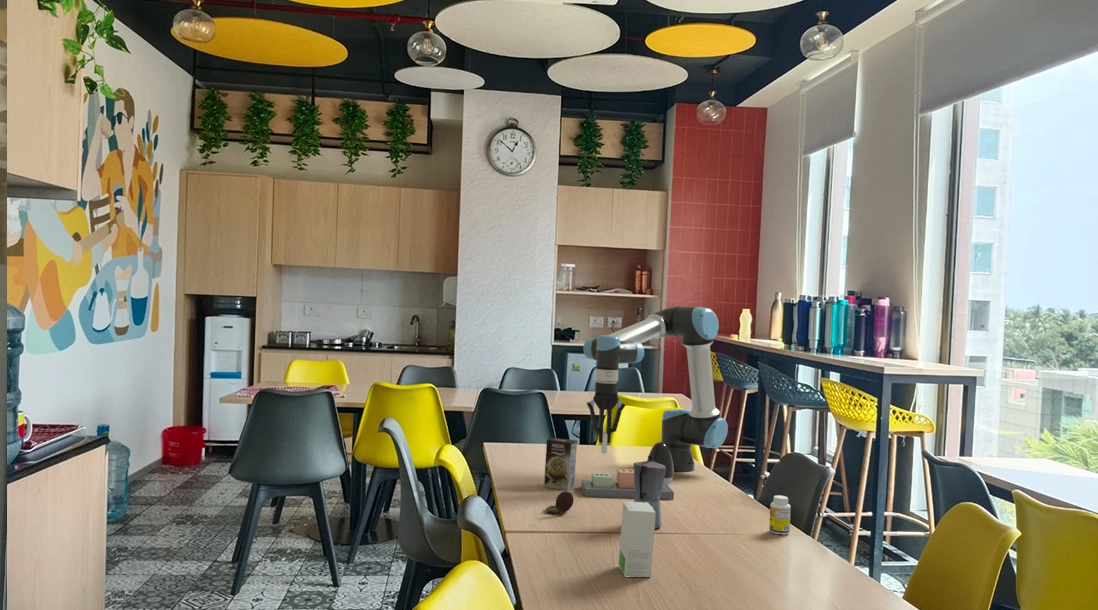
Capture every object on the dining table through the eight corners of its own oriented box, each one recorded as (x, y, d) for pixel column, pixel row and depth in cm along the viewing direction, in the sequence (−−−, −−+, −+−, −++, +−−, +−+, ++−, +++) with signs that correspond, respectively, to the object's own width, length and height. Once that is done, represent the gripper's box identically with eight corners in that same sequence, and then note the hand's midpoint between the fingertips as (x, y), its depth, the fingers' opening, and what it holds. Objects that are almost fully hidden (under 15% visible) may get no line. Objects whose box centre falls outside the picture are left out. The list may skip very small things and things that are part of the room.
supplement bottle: (770, 529, 232) (772, 493, 232) (790, 531, 230) (792, 496, 230) (768, 533, 227) (769, 497, 227) (788, 536, 225) (790, 500, 225)
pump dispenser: (672, 482, 288) (674, 440, 288) (674, 489, 278) (676, 445, 278) (643, 480, 289) (646, 438, 289) (644, 487, 279) (646, 443, 279)
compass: (557, 508, 243) (559, 484, 243) (573, 515, 237) (575, 490, 237) (536, 511, 238) (537, 487, 238) (551, 518, 232) (553, 493, 232)
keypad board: (665, 490, 275) (665, 483, 275) (673, 499, 262) (673, 492, 262) (581, 487, 273) (581, 480, 273) (585, 496, 260) (585, 488, 260)
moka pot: (667, 522, 233) (670, 453, 234) (657, 535, 219) (660, 462, 219) (635, 517, 237) (638, 450, 237) (622, 530, 222) (626, 458, 222)
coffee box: (543, 487, 271) (545, 439, 271) (550, 483, 277) (552, 436, 277) (568, 490, 268) (571, 442, 268) (575, 487, 274) (577, 439, 274)
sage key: (608, 488, 270) (609, 472, 270) (611, 492, 264) (612, 476, 264) (591, 487, 270) (592, 472, 270) (593, 491, 264) (594, 476, 264)
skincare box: (618, 566, 191) (621, 500, 191) (645, 566, 192) (648, 501, 192) (624, 578, 183) (628, 509, 183) (653, 578, 183) (656, 510, 183)
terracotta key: (634, 484, 271) (634, 468, 271) (637, 488, 265) (638, 472, 265) (616, 483, 270) (617, 468, 270) (619, 487, 264) (620, 471, 265)
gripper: (588, 382, 263) (585, 454, 263) (627, 383, 264) (625, 455, 264) (585, 380, 271) (583, 450, 271) (624, 381, 271) (621, 450, 272)
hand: (603, 452), depth 267 cm, fingers closed
